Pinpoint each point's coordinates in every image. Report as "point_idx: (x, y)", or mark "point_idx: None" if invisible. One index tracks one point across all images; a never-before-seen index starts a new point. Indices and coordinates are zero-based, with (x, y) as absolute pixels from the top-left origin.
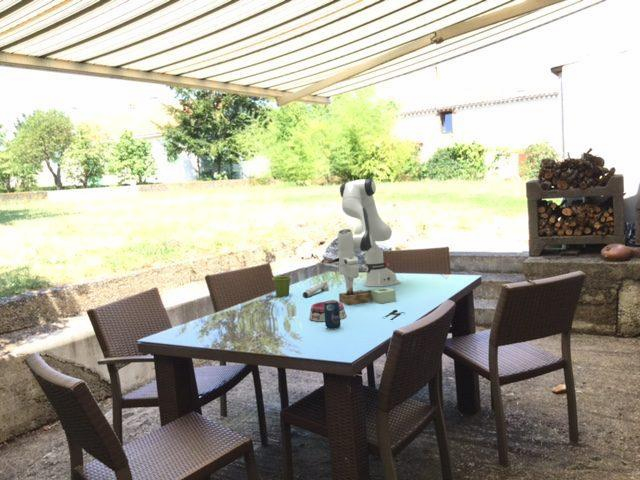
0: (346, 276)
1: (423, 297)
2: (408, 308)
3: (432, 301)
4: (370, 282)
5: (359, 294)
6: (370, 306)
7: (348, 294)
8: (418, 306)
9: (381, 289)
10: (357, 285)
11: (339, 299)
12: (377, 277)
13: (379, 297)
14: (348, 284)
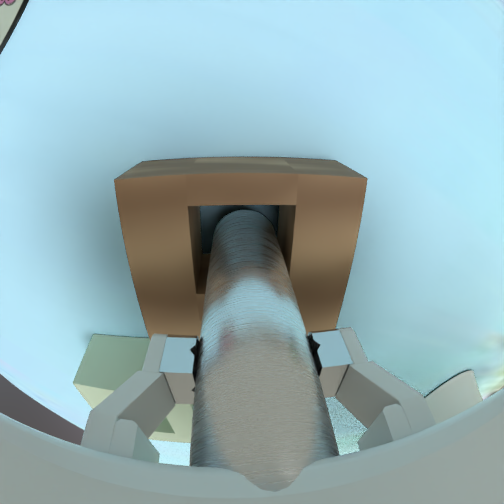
0: (229, 457)
1: (148, 439)
2: (6, 353)
3: (84, 424)
4: (452, 392)
5: (167, 314)
6: (48, 277)
7: (223, 236)
8: (28, 380)
9: (171, 424)
10: (491, 349)
11: (340, 164)
12: (436, 423)
13: (83, 363)
14: (207, 324)
